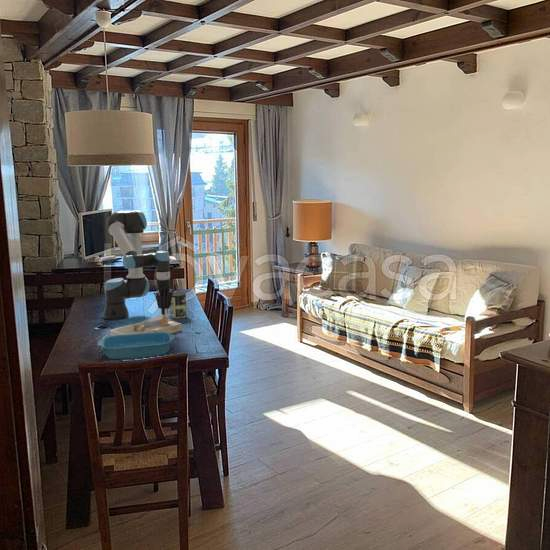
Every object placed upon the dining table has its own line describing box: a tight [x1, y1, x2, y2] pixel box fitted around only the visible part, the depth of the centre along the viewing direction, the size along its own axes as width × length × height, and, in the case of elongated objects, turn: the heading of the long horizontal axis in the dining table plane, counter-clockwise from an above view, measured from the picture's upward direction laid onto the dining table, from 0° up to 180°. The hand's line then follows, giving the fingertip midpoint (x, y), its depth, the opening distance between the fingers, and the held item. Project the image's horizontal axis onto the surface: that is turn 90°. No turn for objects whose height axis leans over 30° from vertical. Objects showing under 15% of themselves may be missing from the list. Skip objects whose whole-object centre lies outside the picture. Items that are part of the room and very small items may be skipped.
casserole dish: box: [97, 332, 176, 360], centre depth 276 cm, size 37×22×7 cm, turn 104°
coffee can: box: [169, 292, 188, 319], centre depth 348 cm, size 10×10×14 cm
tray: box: [108, 323, 154, 337], centre depth 302 cm, size 18×16×4 cm
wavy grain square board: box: [133, 319, 183, 334], centre depth 315 cm, size 20×18×4 cm
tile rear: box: [152, 315, 169, 325], centre depth 316 cm, size 6×6×3 cm
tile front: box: [143, 317, 159, 327], centre depth 312 cm, size 6×6×3 cm
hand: (165, 319), depth 319 cm, fingers closed
